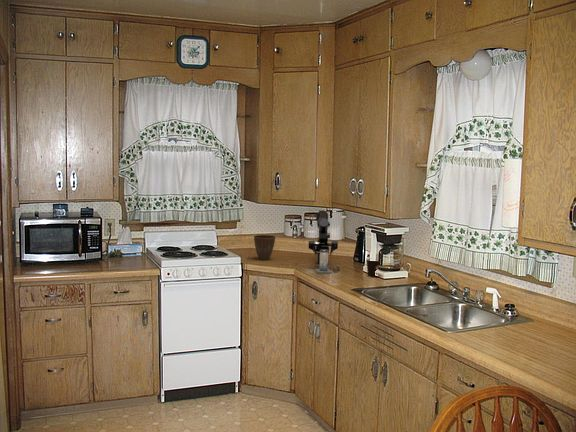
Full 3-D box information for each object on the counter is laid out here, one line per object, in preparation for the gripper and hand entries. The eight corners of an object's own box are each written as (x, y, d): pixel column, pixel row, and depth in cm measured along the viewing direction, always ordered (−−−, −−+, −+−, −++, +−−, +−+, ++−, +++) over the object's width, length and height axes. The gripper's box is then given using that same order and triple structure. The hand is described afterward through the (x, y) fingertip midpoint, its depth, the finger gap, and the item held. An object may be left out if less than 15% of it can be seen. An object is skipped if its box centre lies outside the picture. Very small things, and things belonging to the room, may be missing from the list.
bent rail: (331, 269, 382) (331, 264, 381) (337, 269, 382) (338, 264, 382) (334, 273, 370) (335, 268, 369) (342, 273, 370) (342, 268, 370)
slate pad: (315, 270, 376) (315, 269, 376) (329, 270, 377) (329, 269, 377) (317, 273, 367) (317, 271, 367) (331, 273, 368) (331, 271, 368)
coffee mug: (369, 277, 358) (369, 261, 357) (363, 274, 366) (364, 258, 366) (387, 277, 361) (387, 260, 360) (381, 274, 370) (381, 258, 369)
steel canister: (320, 269, 375) (321, 249, 374) (328, 270, 373) (329, 249, 372) (317, 270, 370) (318, 250, 369) (326, 271, 368) (326, 250, 367)
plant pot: (274, 261, 405) (275, 238, 404) (252, 260, 405) (253, 237, 404) (275, 257, 420) (275, 235, 419) (253, 257, 420) (254, 234, 419)
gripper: (308, 228, 382) (308, 248, 373) (337, 228, 382) (338, 248, 372) (308, 238, 391) (308, 258, 381) (337, 238, 390) (337, 258, 381)
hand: (323, 255), depth 379 cm, fingers open, 9 cm apart
